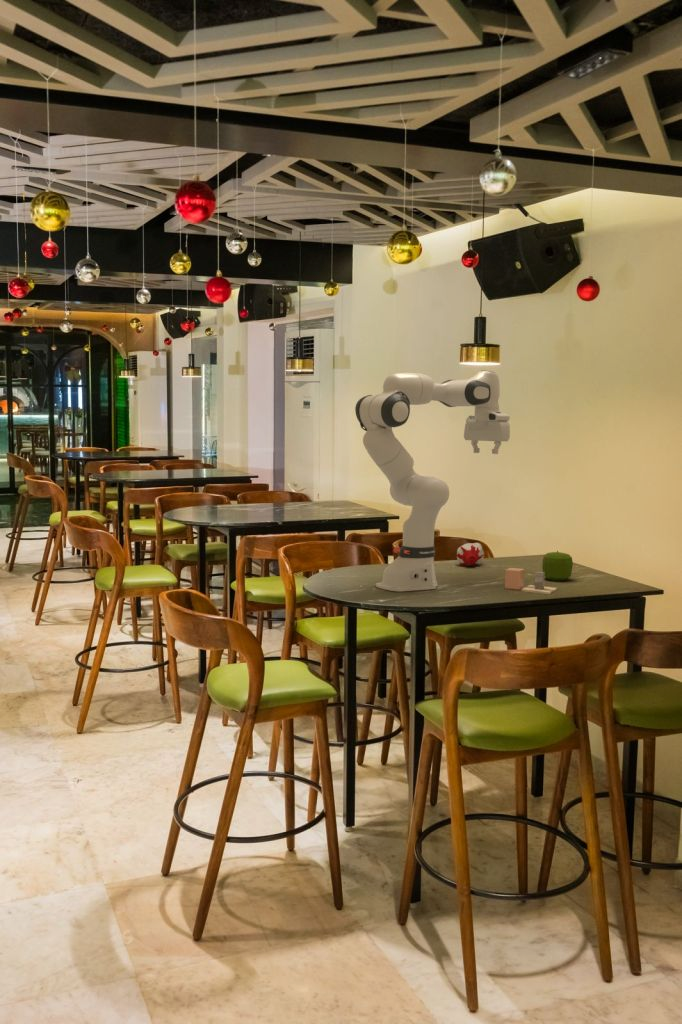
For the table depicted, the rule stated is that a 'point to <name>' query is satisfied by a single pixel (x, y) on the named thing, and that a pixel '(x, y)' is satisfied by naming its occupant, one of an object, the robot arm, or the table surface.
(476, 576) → the table surface
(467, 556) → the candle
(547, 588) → the post stand
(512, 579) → the salmon orange block
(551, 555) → the apple
